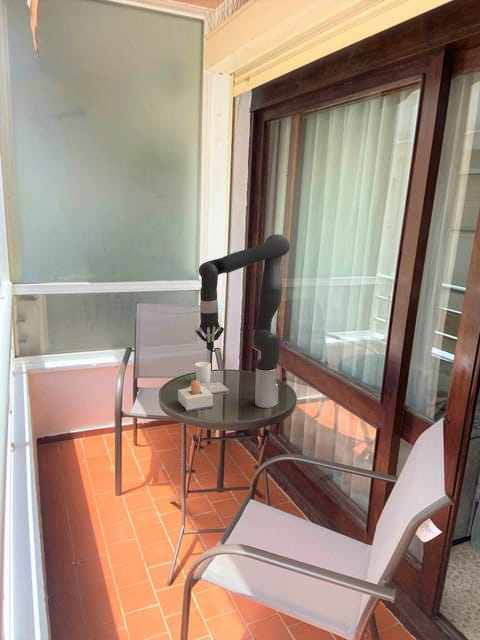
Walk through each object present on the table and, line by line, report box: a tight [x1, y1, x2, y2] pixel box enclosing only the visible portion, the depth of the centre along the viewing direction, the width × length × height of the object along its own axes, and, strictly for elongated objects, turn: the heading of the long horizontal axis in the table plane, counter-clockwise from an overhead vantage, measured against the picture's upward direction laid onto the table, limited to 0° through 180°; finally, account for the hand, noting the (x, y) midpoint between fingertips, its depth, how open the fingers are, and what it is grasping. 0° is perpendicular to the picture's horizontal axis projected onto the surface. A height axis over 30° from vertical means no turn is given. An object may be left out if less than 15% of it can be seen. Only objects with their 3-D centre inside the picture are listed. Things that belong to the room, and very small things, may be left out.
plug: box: [190, 379, 200, 395], centre depth 214 cm, size 4×4×10 cm
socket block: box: [177, 386, 214, 412], centre depth 215 cm, size 12×12×6 cm
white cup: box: [194, 361, 212, 384], centre depth 242 cm, size 8×8×10 cm
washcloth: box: [186, 381, 230, 397], centre depth 231 cm, size 12×18×3 cm, turn 115°
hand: (210, 350), depth 207 cm, fingers closed
